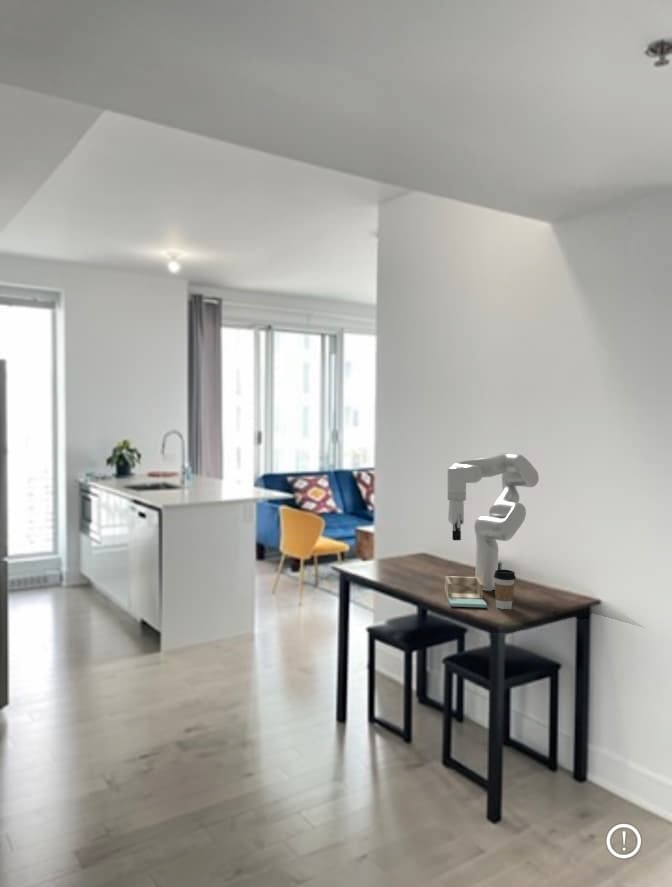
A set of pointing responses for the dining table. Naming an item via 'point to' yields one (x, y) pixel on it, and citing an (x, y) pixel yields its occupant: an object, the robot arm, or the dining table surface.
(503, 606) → the coffee cup
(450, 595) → the crate
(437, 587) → the dining table surface
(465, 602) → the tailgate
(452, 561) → the dining table surface
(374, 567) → the dining table surface
